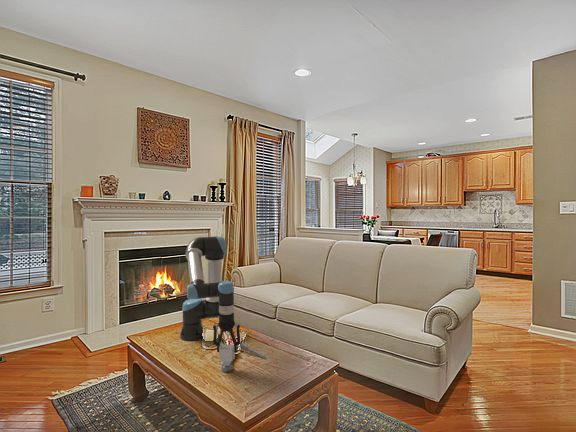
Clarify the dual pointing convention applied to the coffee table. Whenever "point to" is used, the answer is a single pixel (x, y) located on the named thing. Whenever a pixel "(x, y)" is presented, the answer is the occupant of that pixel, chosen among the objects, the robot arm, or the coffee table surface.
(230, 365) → the ratchet
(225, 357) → the socket
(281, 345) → the coffee table surface
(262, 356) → the caliper
